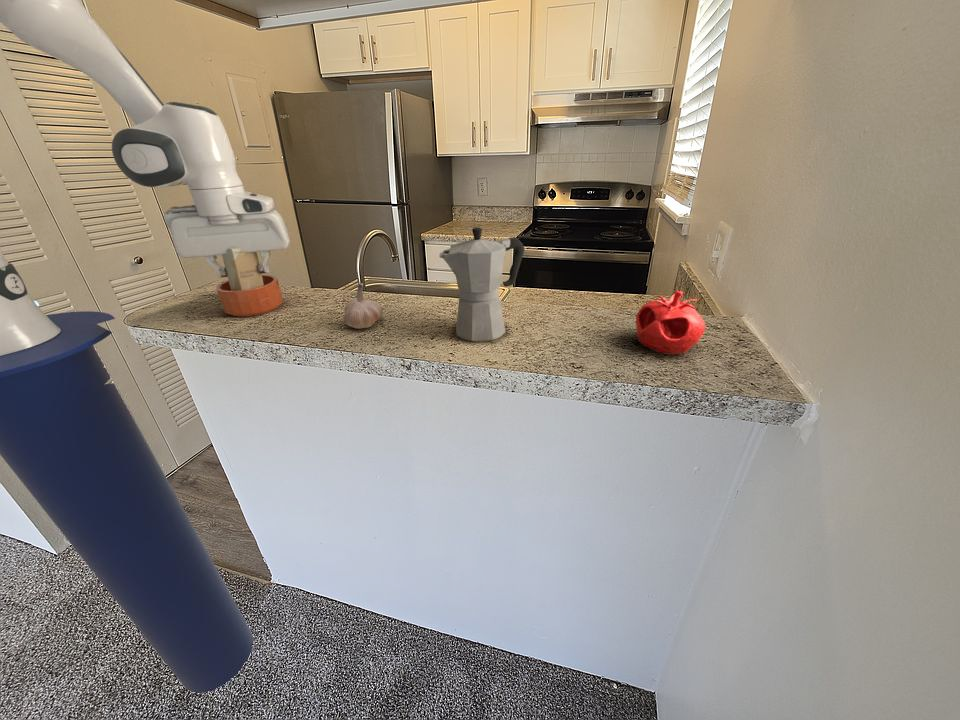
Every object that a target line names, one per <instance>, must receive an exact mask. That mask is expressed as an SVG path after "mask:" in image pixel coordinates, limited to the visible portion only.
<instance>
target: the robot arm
mask: <svg viewBox="0 0 960 720" xmlns="http://www.w3.org/2000/svg"><path fill="white" fill-rule="evenodd" d="M0 23H1V24H2V25H3V26H4V27H5V28H6V29H8V30H9V32H11V33H12V34H13V35H14V36H15V37H16V38H18V39H19V40H20V41H22V42H23V43H25V44H26V45H28V46H30V47H31V48H34V49H35V50H38V51H39V52H42V53H44V54H46V55H48V56H50V57H53V58H55V59H57V60H58V61H61V62H62V63H65V64H66V65H68V66H70V67H71V68H74V69H76V70H77V71H79V72H81V73H83V74H84V75H86V76H87V77H89V78H90V79H92V80H93V81H95V83H97V84H98V85H99V86H101V87H102V88H103V89H104V90H105V91H106V92H107V93H108V94H109V96H110V97H112V98H113V100H114V101H115V102H116V104H118V106H120V108H121V110H123V111H124V112H125V114H126V115H127V116H128V117H129V119H130V120H132V122H133V123H134V124H135V125H132V126H130V127H126V128H123V129H121V130H119V131H118V132H117V133H116V134H115V135H114V136H113V138H112V142H111V152H112V156H113V159H114V162H115V164H116V165H117V167H118V168H119V169H120V171H121V173H123V174H124V176H126V177H127V178H128V179H129V180H131V181H132V182H134V183H135V184H137V185H139V186H143V187H147V188H155V189H162V188H167V187H178V186H187V187H188V190H189V193H190V195H191V198H192V202H193V204H191V205H184V206H183V205H182V206H170V207H169V209H167V210H165V212H164V213H163V218H164V221H165V224H166V226H167V228H168V229H169V230H170V234H171V239H172V241H173V242H172V243H173V246H174V250H175V252H176V254H177V255H178V256H180V257H181V258H183V259H190V258H192V259H193V258H201V257H202V258H203V257H204V259H205V262H206V263H207V264H208V265H209V266H210V267H211V268H213V269H214V270H215V272H216V274H217V276H218V278H219V279H220V278H228V276H227V273H226V269H225V266H222V265H221V264H220V263H219V262H218V261H217V259H218V256H222V255H226V254H227V249H228V248H240V249H241V250H242V252H244V253H248V252H257V253H259V254H260V257H263V260H262V262H259V265H258V268H259V269H260V273H261V274H262V275H263V274H269V273H270V268H269V265H268V263H269V260H270V256H271V251H279V250H280V251H281V250H287V249H288V248H289V246H290V245H291V237H290V233H289V231H288V228H287V225H286V223H285V220H284V218H283V216H282V215H281V213H280V212H279V211H277V210H276V209H274V208H275V206H276V205H275V200H274V198H273V197H271V196H267V195H263V194H259V193H255V192H250V191H246V190H245V186H244V184H243V181H242V179H241V177H240V175H239V174H238V171H237V161H236V156H235V152H234V150H233V149H234V148H233V147H232V143H231V140H230V138H229V136H228V132H227V130H226V128H225V125H224V123H223V120H222V119H221V117H220V116H219V115H218V113H216V111H214V110H213V109H211V108H209V107H207V106H204V105H203V106H202V105H195V104H191V103H184V102H177V101H171V102H169V101H168V102H165V103H164V102H163V101H162V100H161V99H160V97H158V95H157V94H156V93H155V91H154V90H153V89H152V88H151V86H150V85H149V84H148V83H147V81H145V79H144V78H143V77H142V75H141V74H140V73H139V72H138V70H137V69H136V68H135V66H133V64H132V63H131V62H130V61H129V60H128V58H127V57H126V55H124V54H123V52H122V51H121V50H120V49H119V48H118V47H117V46H116V45H115V43H114V42H113V41H112V40H111V38H110V37H109V36H108V34H107V33H106V32H105V31H104V30H103V28H101V26H100V25H99V24H98V23H97V21H96V20H95V19H94V18H93V16H92V15H91V14H90V13H89V11H88V10H87V9H86V7H85V6H84V5H83V3H82V2H81V1H80V0H0ZM3 253H4V252H2V250H1V249H0V356H2V355H6V354H10V353H13V352H17V351H20V350H24V349H27V348H30V347H33V346H35V345H38V344H41V343H43V342H45V341H48V340H50V339H52V338H53V337H55V336H57V335H58V334H59V333H60V332H61V329H60V328H59V327H58V326H56V325H55V324H54V323H53V322H52V321H51V320H50V319H49V318H48V317H47V316H46V315H47V314H46V313H45V312H44V311H43V309H41V308H40V307H39V306H40V304H39V303H38V302H37V301H35V300H34V299H33V298H32V297H31V295H30V294H29V292H28V289H27V287H26V284H25V282H24V280H23V279H22V277H21V275H20V274H19V272H18V271H17V269H16V268H15V266H14V264H13V263H11V262H9V261H8V260H7V258H6V257H5V255H4V254H3Z"/></svg>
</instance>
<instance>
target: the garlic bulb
mask: <svg viewBox="0 0 960 720" xmlns="http://www.w3.org/2000/svg"><path fill="white" fill-rule="evenodd" d="M363 291H364V283H363V282H358V283H357V297H355V298H353V299H352V300H350V301H349V302H347V304H346V305H345V308H344V315H343V320H344V322H345V324H346V325H347V326H349V327H351V328H354V329H357V330H360V329H365V328H367V329H368V328H371V327H372V326H374V324H375V323H376V322H377V321H379V319H381V317H382V316H383V312H384V309H383V306H382V305H381V304H380V303H379V302H378V301H376V300H372V299H368V298H365V297H364V292H363Z"/></svg>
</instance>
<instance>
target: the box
mask: <svg viewBox="0 0 960 720" xmlns="http://www.w3.org/2000/svg"><path fill="white" fill-rule="evenodd" d="M221 257H222V261H223V265H224V267H225V269H226V273H227V276H228V277H227V281H228V280H229V284H230V288H231V291H240V290H248V289H253V288H257V287H261V286H264V283H263V279H262V275H263V273H262V274H261V273H260V269H259V268H258V265H259V264H260V261H259V256H258V252H248V253H244V252H242V250H241V249H240V248H228V249H227V254H226V255H221Z"/></svg>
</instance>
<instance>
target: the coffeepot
mask: <svg viewBox="0 0 960 720" xmlns="http://www.w3.org/2000/svg"><path fill="white" fill-rule="evenodd" d="M471 230H472V235H473V239H468V240H465V241H462V242H458V243H455V244H451V245H450V248H447V249H444V250H443V251H441V252H439V256H438V257H439V258H440V259H443V260H444V261H445V263H446V264H447V265H448V267H449V268H450V270H451V271H452V273H453V274H454V275H455V276H454V277H455V280H456V284H457V289H458V291H459V297H458V304H457V305H458V306H457V314H456V315H457V316H456V323H455V324H456V325H455V329H456V330H455V331H456V336H457V337H459V338H460V339H462V340H464V341H468V342H476V343H482V342H490V341H493V340H496V339H499V338H501V337H502V336H503V335H504V334H505V333H506V328H505V327H506V326H505V321H504V316H503V315H504V314H503V310H502V305H501V298H500V295H499V288H500V287H501V285H502V284H503V286H504V287H505V288H507V287H510V286H511V287H512V286H514V285H515V282H516V279H517V276H518V273H519V269H520V266H521V262H522V261H523V256H524V254H525V245H524V244H523V243H522V242H521V241H520V239H519V238H518V237H513V236H512V237H508V238H500V239H497V240H496V241H495V240H489V239H484V238H482V233H483V232H482V231H483V228H481V227H477V226H476V227H474V228H471ZM510 250H514V253H513V256H512V264H511V266H510V269H509V278H508V279H507V280H505V281H502V277H503V269H504V264H505V263H504V262H505V256H506V252H508V251H510Z"/></svg>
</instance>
